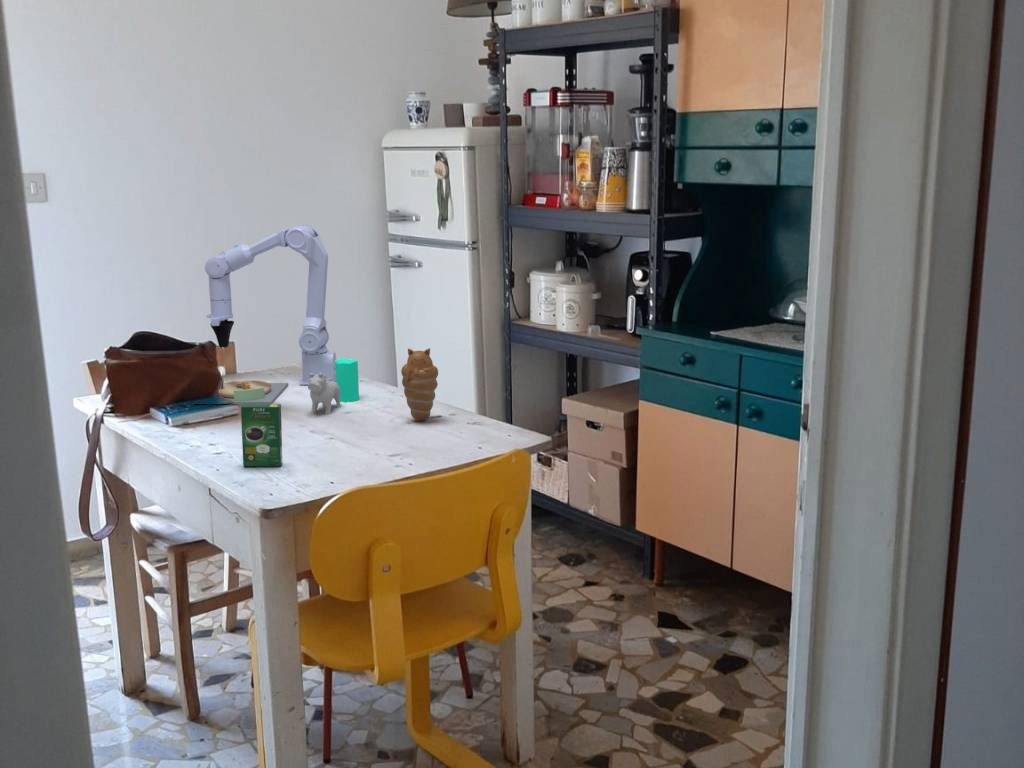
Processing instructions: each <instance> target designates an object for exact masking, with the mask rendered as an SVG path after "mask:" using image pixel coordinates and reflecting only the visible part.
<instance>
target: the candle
mask: <svg viewBox="0 0 1024 768" xmlns="http://www.w3.org/2000/svg"><path fill="white" fill-rule="evenodd" d="M347 357H348V356H347V354H346V355H345V357H342V358H338V359H336V360H335V368H336V381H335V382H336V383H337V384H338V385H339V387H340V403H352V402H353V403H354V402H357V401H360V393H359V392H360V390H359V389H360V386H359V365H358V364H359V363H358V362H359V361H358V360H357V359H352V358H347Z"/></svg>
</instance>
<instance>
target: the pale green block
mask: <svg viewBox="0 0 1024 768" xmlns="http://www.w3.org/2000/svg"><path fill="white" fill-rule="evenodd" d="M263 398H265V395H264V388H263V387H260V388H254V389H244V390H234V401H249V400H257V399H263Z"/></svg>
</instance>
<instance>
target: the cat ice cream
mask: <svg viewBox="0 0 1024 768" xmlns="http://www.w3.org/2000/svg"><path fill="white" fill-rule="evenodd" d="M407 355H408V357H407V362H406V363H405V364H404V365H403V366H402V367H401V370H400V373H401V376H402V379H401V384H402V386H403V388H404V389H403V392H404V396H405V399H406V403H407V406H408V408H409V409H410V415H411V417H412V418H413V419H414V420H415V421H418V422H423V421H425V420H427V419H429V418H430V416H431V410H432V409H433V408H434V407H433V406H434V400H435V399H436V392H435V391H436V389H437V388H438V381H437V378H438V375H439V369H438V367H437V366H435V365H434V364H433V360H432V357H430V355H431V348H427V349H425V350H413V349H411V348H407Z"/></svg>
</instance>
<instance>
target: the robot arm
mask: <svg viewBox="0 0 1024 768" xmlns="http://www.w3.org/2000/svg"><path fill="white" fill-rule="evenodd" d="M277 247H283V248H287V247H289V248H290V249H291V250H293V251H295V252H297V253H299V254H301V255H302V256H303V257H304V258H305V259H306V261H308V275H307V276H308V278H307V279H308V280H307V293H306V294H307V296H306V309H305V310H306V312H305V314H306V315H305V320H304V323H303V326H302V333H301V334H300V336H299V338H298V344H299V347H300V348H301V365H302V366H301V367H302V380H301V381H300V382H299V386H308V385H309V374H310V373H313V374H319V373H322V374H323V375H326V379H328V378H332V381H334V382H336V368H335V360H337V355H336V352H335V351H329V349H328V347H327V344H328V341H329V339H330V335H329V332H328V329H327V321H326V319H325V312H326V300H327V299H326V297H327V296H326V295H327V283H328V281H327V280H328V268H329V267H328V266H329V264H328V263H329V254H328V252H327V249H326V248H325V246H324V243H323V241H322V240H321V236H320V233H319V232H318V231H317V230H315V229H314V227H312V226H311V225H309V224H301V225H298V226H294V227H293V226H292V227H291V228H288V229H283V230H280V231H277V232H274V233H273V234H271V235H269V236H267V237H265V238H263V239H261V240H258V241H257V242H254V243H253V244H250V245H247V244H245V243H242V244H240V243H236V244H235V245H233V248H231V249H229V250H227V251H220V252H219V253H218V254H219V255H217V256H211V257H210V258H209V259H207V261H206V262H205V264H204V271H205V273H206V274H207V276H208V289H209V290H208V291H209V302H210V314H207V315H206V318H207V319H210V328H211V329H212V330H213V332H214V334H215V336H216V340H217V344H218V347H219V348H228V347H229V344H230V336H231V332H232V329H233V326H234V324H235V321H234V320H229V319H233V318H234V314H233V306H232V304H233V303H232V291H231V290H232V289H231V280H230V279H231V278H230V274H231V273H232V272H236V271H237V270H240V269H242V268H244V267H247V266H249V265H251V264H253V263H254V261H255V257H256V256H259V255H261V254H264V253H265V252H268V251H270V250H272V249H274V248H277Z"/></svg>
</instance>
